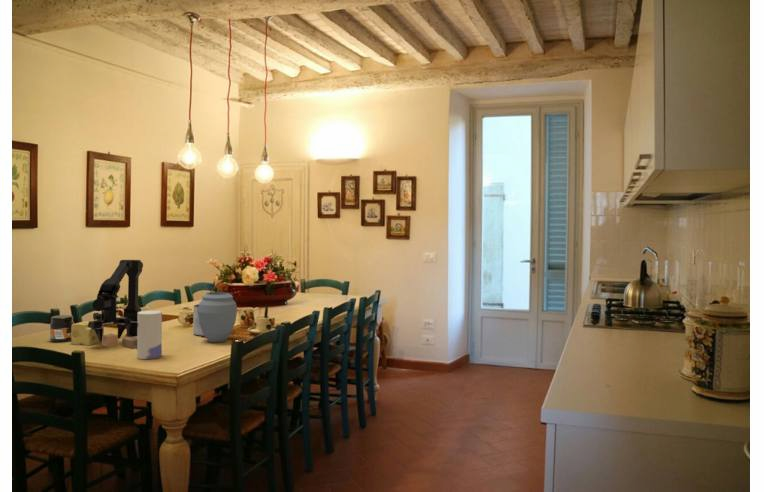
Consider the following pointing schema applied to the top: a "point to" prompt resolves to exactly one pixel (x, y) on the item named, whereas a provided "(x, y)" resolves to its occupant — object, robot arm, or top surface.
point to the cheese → (83, 334)
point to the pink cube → (109, 340)
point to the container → (149, 334)
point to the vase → (217, 315)
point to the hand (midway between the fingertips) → (109, 340)
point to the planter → (196, 322)
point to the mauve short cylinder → (130, 342)
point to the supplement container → (61, 328)
